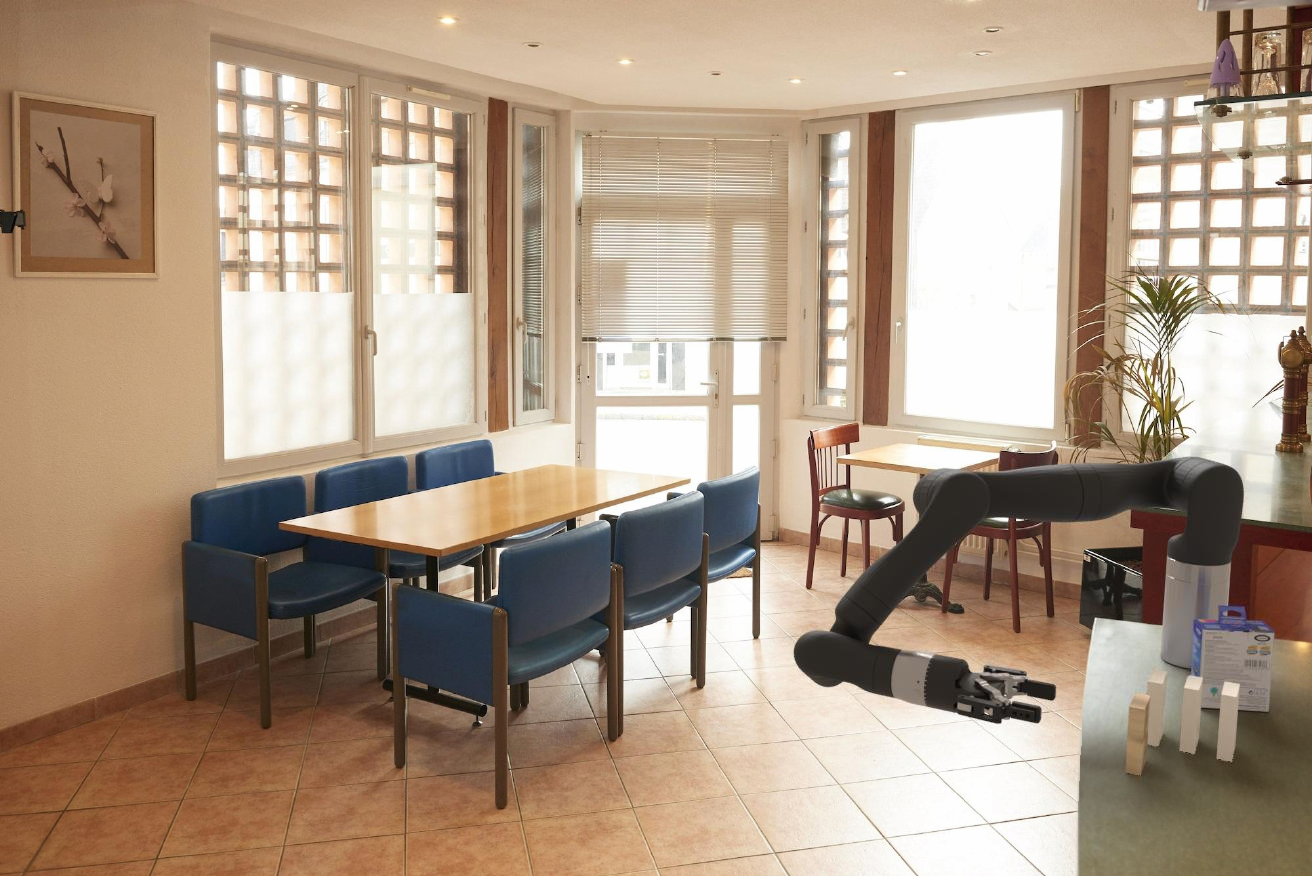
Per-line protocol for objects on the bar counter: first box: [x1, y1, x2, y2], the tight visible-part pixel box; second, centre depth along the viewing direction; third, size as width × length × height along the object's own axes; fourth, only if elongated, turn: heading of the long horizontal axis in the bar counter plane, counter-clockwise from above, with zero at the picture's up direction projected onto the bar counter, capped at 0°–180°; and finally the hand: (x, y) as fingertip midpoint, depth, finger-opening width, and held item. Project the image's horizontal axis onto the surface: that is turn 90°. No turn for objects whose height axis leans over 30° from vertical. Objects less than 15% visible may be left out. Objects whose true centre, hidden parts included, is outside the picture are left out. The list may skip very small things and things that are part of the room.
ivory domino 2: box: [1179, 674, 1203, 755], centre depth 144 cm, size 5×2×9 cm, turn 148°
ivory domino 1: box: [1146, 668, 1168, 747], centre depth 146 cm, size 5×2×9 cm, turn 148°
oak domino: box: [1124, 692, 1150, 777], centre depth 138 cm, size 5×2×9 cm, turn 148°
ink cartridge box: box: [1190, 605, 1276, 713], centre depth 157 cm, size 10×6×14 cm, turn 78°
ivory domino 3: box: [1216, 682, 1240, 763], centre depth 142 cm, size 5×2×9 cm, turn 148°
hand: (1048, 703), depth 144 cm, fingers open, 8 cm apart
